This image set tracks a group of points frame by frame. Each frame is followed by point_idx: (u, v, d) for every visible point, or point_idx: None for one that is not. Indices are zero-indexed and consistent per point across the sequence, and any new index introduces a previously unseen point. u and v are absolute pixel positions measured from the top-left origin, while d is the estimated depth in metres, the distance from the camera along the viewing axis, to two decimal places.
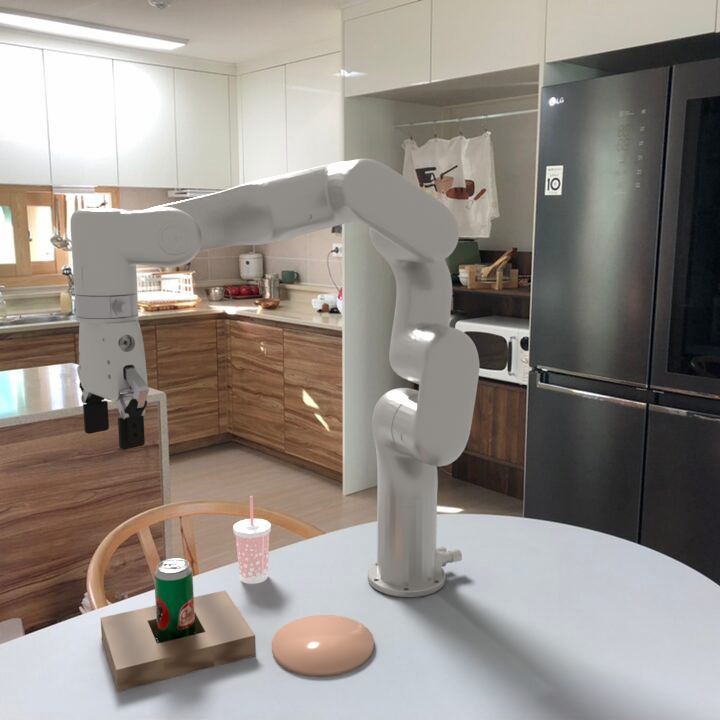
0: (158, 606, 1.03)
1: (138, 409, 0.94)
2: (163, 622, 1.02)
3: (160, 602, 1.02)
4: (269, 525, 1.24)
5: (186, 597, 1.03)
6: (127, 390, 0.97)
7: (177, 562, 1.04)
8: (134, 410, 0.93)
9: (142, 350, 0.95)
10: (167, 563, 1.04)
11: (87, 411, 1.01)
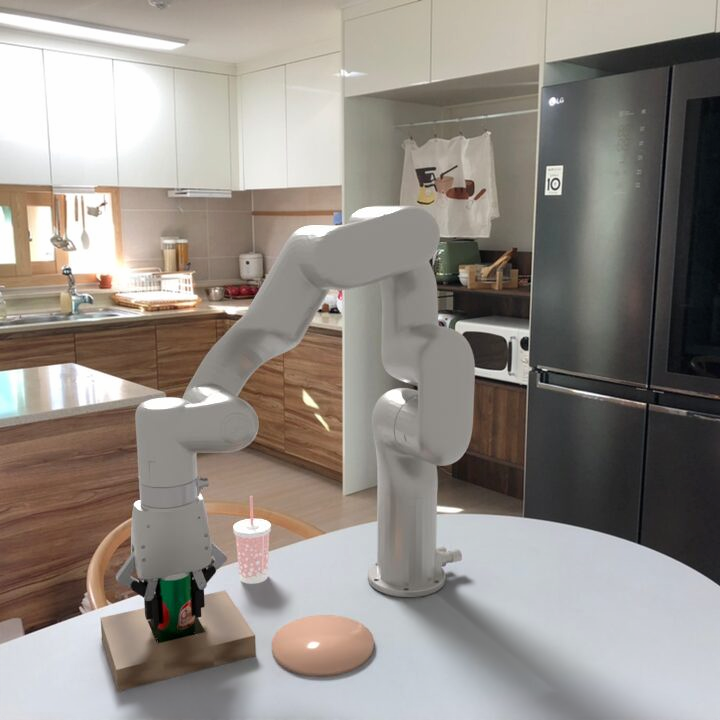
0: (158, 606, 1.03)
1: None
2: (163, 622, 1.02)
3: (160, 602, 1.02)
4: (269, 525, 1.24)
5: (186, 596, 1.03)
6: None
7: None
8: (211, 575, 1.06)
9: None
10: None
11: None
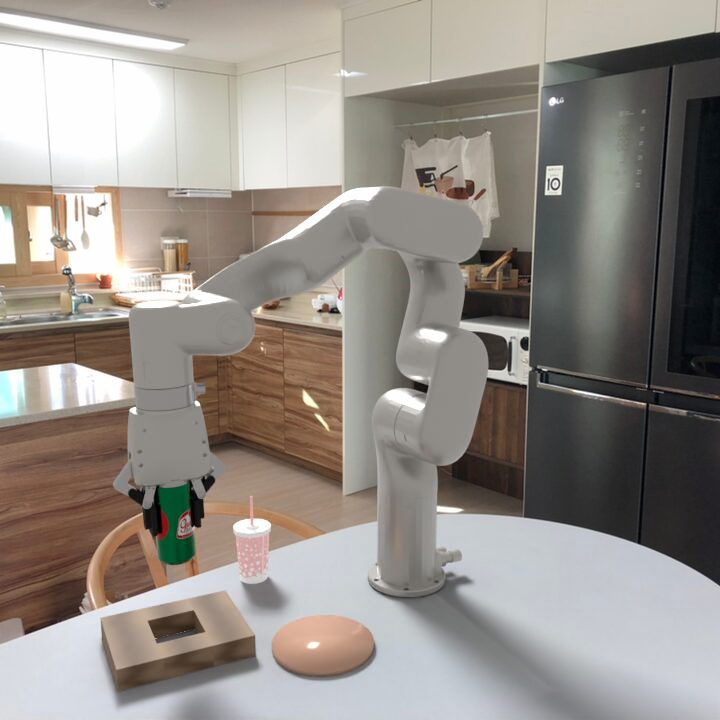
0: None
1: None
2: (162, 532, 1.00)
3: (159, 511, 1.00)
4: (269, 525, 1.24)
5: (185, 505, 1.00)
6: None
7: None
8: (210, 485, 1.03)
9: None
10: None
11: (156, 513, 1.00)
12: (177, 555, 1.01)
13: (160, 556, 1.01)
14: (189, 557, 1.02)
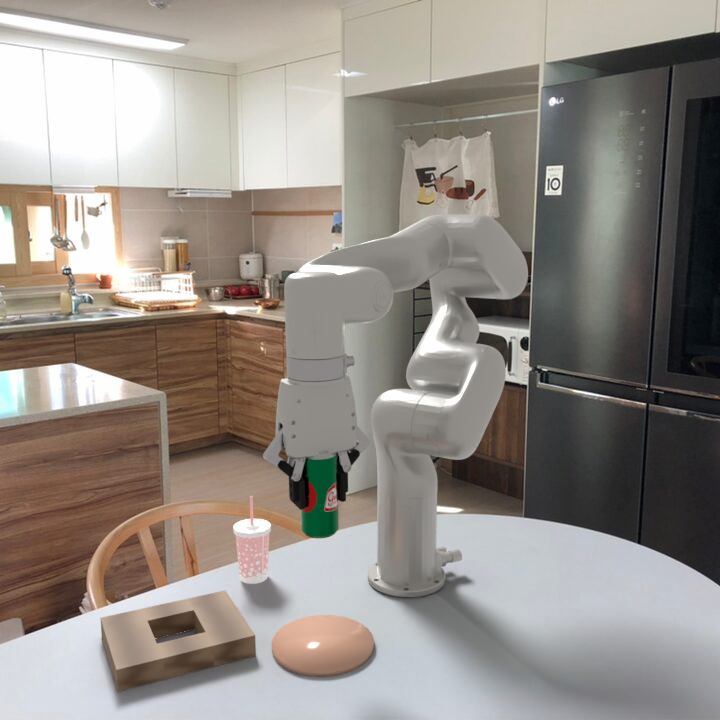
0: None
1: None
2: (309, 504, 0.99)
3: (307, 483, 0.99)
4: (269, 525, 1.24)
5: (333, 478, 1.00)
6: None
7: None
8: (354, 459, 1.02)
9: None
10: None
11: (304, 486, 0.99)
12: (324, 529, 1.00)
13: (306, 529, 1.01)
14: (334, 531, 1.01)
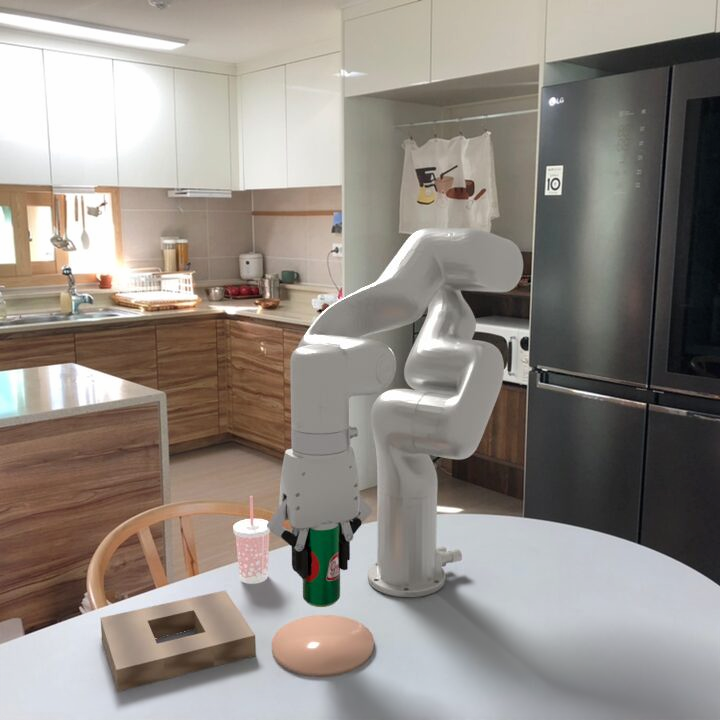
0: None
1: None
2: (312, 574, 1.01)
3: (310, 553, 1.00)
4: None
5: (336, 548, 1.01)
6: None
7: None
8: (356, 528, 1.04)
9: None
10: None
11: (307, 556, 1.00)
12: (326, 598, 1.01)
13: (308, 598, 1.02)
14: (336, 599, 1.02)
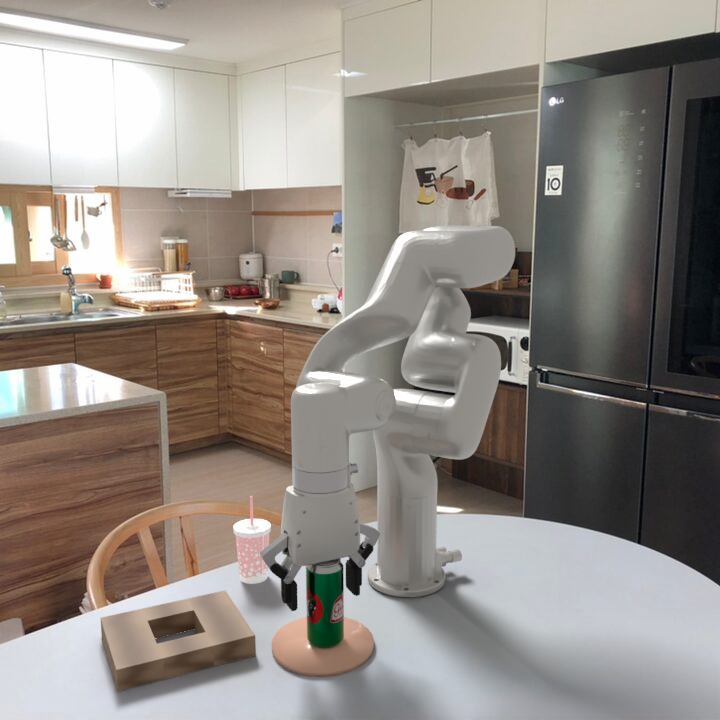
0: (310, 600, 1.02)
1: None
2: (316, 616, 1.02)
3: (314, 596, 1.02)
4: (269, 525, 1.24)
5: (339, 590, 1.03)
6: None
7: None
8: (368, 554, 1.06)
9: None
10: None
11: (296, 588, 1.01)
12: (330, 639, 1.03)
13: (312, 639, 1.03)
14: (340, 640, 1.04)
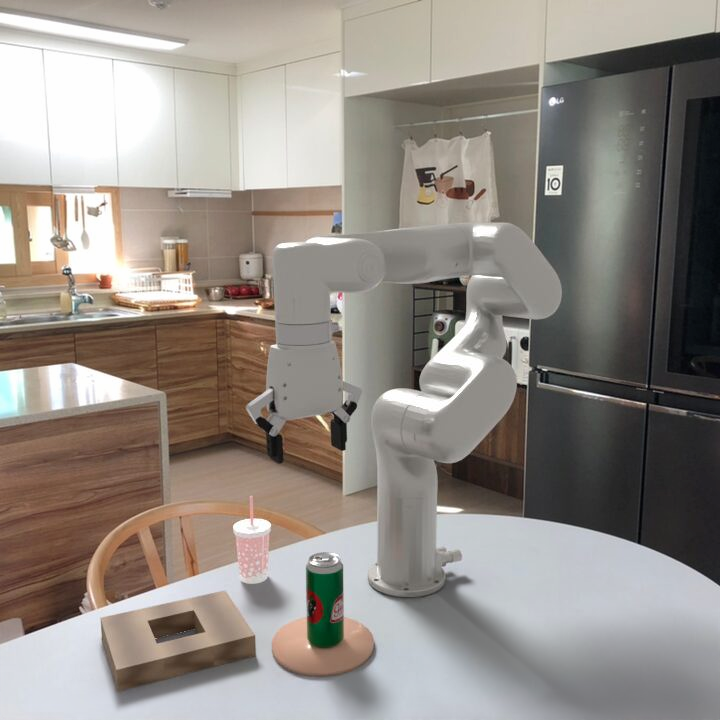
0: (310, 600, 1.02)
1: None
2: (316, 616, 1.02)
3: (314, 596, 1.02)
4: (269, 525, 1.24)
5: (339, 590, 1.03)
6: None
7: (327, 556, 1.04)
8: None
9: None
10: (317, 557, 1.04)
11: (282, 441, 1.03)
12: (330, 639, 1.03)
13: (312, 639, 1.03)
14: (340, 640, 1.04)
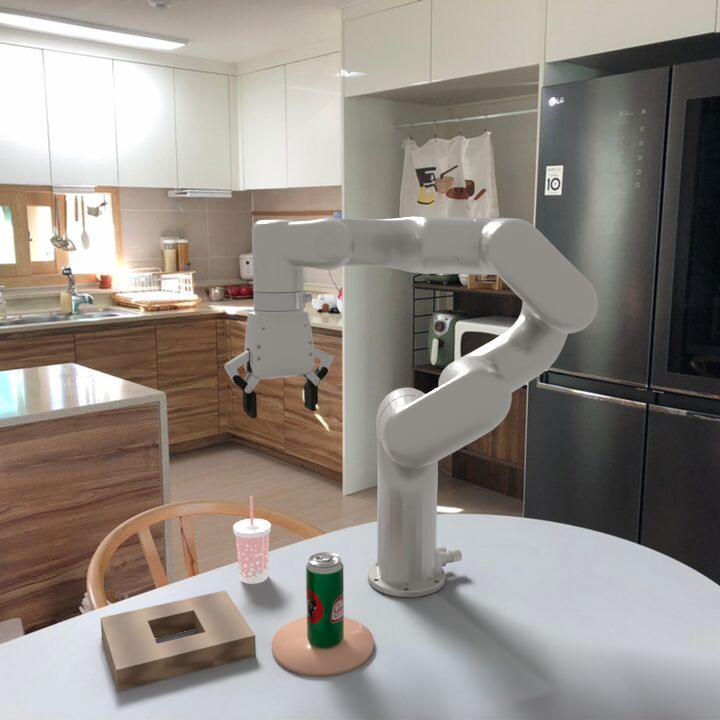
0: (311, 600, 1.02)
1: None
2: (316, 616, 1.02)
3: (314, 596, 1.02)
4: (269, 525, 1.24)
5: (339, 590, 1.03)
6: None
7: (327, 556, 1.04)
8: (323, 375, 1.20)
9: None
10: (318, 557, 1.04)
11: None
12: (330, 639, 1.03)
13: (312, 639, 1.03)
14: (340, 640, 1.04)
